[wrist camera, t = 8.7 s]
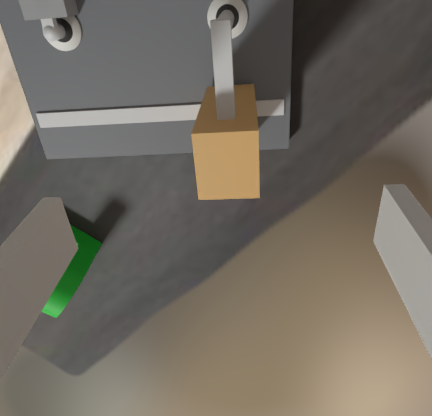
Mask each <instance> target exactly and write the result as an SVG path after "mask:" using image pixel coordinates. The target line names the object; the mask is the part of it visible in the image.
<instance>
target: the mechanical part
mask: <svg viewBox="0 0 432 416" xmlns="http://www.w3.org/2000/svg"><path fill="white" fill-rule="evenodd" d="M70 226H71V229H72V232H73V234H74V237H75V240H76V243H77V246H78V250H77V252H76V253H75V255H74V257H73V259H72V260H71V262H70V264H69V265H68V267H67V269H66V270H65V272H64V274H63V275H62V277H61V279H60V281H59V282H58V284H57V286H56V287H55V289H54V291H53V292H52V294H51V296H50V297H49V299H48V301H47V303H46V304H45V306H44V308H43V309H42V312H44V313H46V314H48V315H51V316H53V317H55V318H57V317H58V316H59V314H60V313H61V312H62V311H63V309H64V308H65V306H66V305H67V303H68V302H69V301H70V299H71V298H72V296H73V294H74V293H75V291H76V290H77V288H78V286H79V285H80V283H81V281H82V280H83V278H84V276H85V274H86V272H87V270H88V269H89V267H90V265H91V263H92V261H93V259H94V257H95V256H96V254H97V252H98V250H99V248H100V246H101V244H102V243H101V242H99V241H98V240H96V239H94V238H93V237H91V236H89V235H88V234H86V233H84V232H82V231H81V230H79V229H77V228H76V227H74V226H72V225H71V224H70Z"/></svg>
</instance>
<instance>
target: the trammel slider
mask: <svg viewBox="0 0 432 416" xmlns="http://www.w3.org/2000/svg"><path fill="white" fill-rule="evenodd" d="M233 22H234V14H233V13H232V12H231V11H230V10H224V11H222V12H221V14H220V15H219V17H218V18H217V19H214V20H211V21H210V29H211V42H212V55H213V69H214V82H215V86H209V87H207V89H206V92H205V95H204V98H203V101H202V104H201V107H200V109H199V112H198V115H197V118H196V121H195V124H194V127H193V130H192V133H191V137H192V146H193V154H194V163H195V172H196V180H197V189H198V198H199V200H211V199H242V198H260V190H259V129H258V119H257V109H256V98H255V88H254V84H242V85H234V74H233V53H232V32H231V30H232V26H233Z"/></svg>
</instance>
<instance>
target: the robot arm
mask: <svg viewBox="0 0 432 416" xmlns="http://www.w3.org/2000/svg"><path fill="white" fill-rule="evenodd" d="M373 242H374V244H375V246H376V248H377V250H378V252H379V254H380V256H381V258H382V260H383V262H384V264H385V266H386V268H387V270H388V272H389V274H390V276H391V278H392V280H393V282H394V284H395V286H396V288H397V290H398V292H399V294H400V296H401V298H402V300H403V302H404V304H405V307H406V309H407V311H408V313H409V315H410V317H411V319H412V321H413V323H414V325H415V327H416V329H417V331H418V333H419V335H420V337H421V339H422V341H423V343H424V345H425V347H426V349H427V351H428V353H429V355H430V357H431V359H432V219H431V218H430V216H429V215H428V214H427V212H426V211H425V210H424V209H423V207H422V206H421V205H420V203H419V202H418V201H417V200H416V198H415V197H414V196H413V195H412V193H411V192H410V191H409V189H408V188H407V187H406V186H405V184H396V185H384V189H383V194H382V198H381V204H380V209H379V215H378V219H377V224H376V230H375V235H374V241H373ZM77 250H78V246H77V243H76V240H75V237H74V234H73V232H72V229H71V226H70V223H69V220H68V217H67V214H66V212H65V209H64V206H63V203H62V200H61V197H48V198H42V199H41V201H40V202H39V203H38V204H37V205H36V206H35V207H34V208H33V210H32V211H31V212H30V213H29V214H28V215H27V216H26V218H25V219H24V220H23V221H22V222H21V223H20V224H19V225H18V227H17V228H16V229H15V230H14V231H13V232H12V233H11V235H10V236H9V237H8V238H7V239H6V240H5V241H4V242H3V244H2V245H1V246H0V380H1V379H2V377H3V375H4V374H5V372H6V370H7V369H8V367H9V365H10V363H11V362H12V360H13V358H14V357H15V355H16V353H17V352H18V350H19V348H20V347H21V345H22V343H23V341H24V340H25V338H26V336H27V335H28V333H29V331H30V330H31V328H32V326H33V325H34V323H35V321H36V319H37V318H38V316H39V314H40V313H41V311H42V309H43V308H44V306H45V304H46V303H47V301H48V299H49V297H50V296H51V294H52V292H53V291H54V289H55V287H56V286H57V284H58V282H59V281H60V279H61V277H62V275H63V274H64V272H65V270H66V269H67V267H68V265H69V264H70V262H71V260H72V259H73V257H74V255H75V253H76V252H77Z"/></svg>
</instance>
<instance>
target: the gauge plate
mask: <svg viewBox="0 0 432 416" xmlns="http://www.w3.org/2000/svg"><path fill="white" fill-rule="evenodd" d="M293 1H294V0H0V24H1V27H2V30H3V33H4V35H5V38H6V41H7V44H8V47H9V50H10V53H11V56H12V59H13V62H14V65H15V68H16V71H17V73H18V76H19V79H20V82H21V85H22V88H23V91H24V94H25V97H26V100H27V103H28V106H29V108H30V111H31V114H32V117H33V120H34V123H35V126H36V129H37V132H38V135H39V138H40V141H41V143H42V146H43V149H44V152H45V155H46V158H47V159H64V158H87V157H109V156H132V155H154V154H177V153H193V146H192V137H191V133H192V130H193V127H194V124H195V121H196V118H197V115H198V112H199V109H200V107H201V104H202V101H203V98H204V95H205V92H206V89H207V87H209V86H215V82H214V69H213V55H212V42H211V29H210V21H211V20H214V19H217V18H218V17H219V15H220V14H221V12H222V11H224V10H230V11H231V12H232V13H233V14H234V22H233V26H232V30H231V32H232V53H233V74H234V85H242V84H254V88H255V98H256V109H257V119H258V129H259V150H267V149H289V130H290V98H291V65H292V33H293Z"/></svg>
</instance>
